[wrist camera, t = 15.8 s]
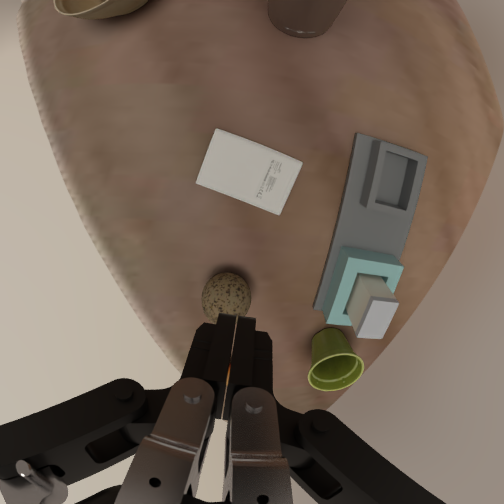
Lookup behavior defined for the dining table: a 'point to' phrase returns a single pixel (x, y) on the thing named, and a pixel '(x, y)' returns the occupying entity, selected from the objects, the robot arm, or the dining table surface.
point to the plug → (370, 306)
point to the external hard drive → (248, 171)
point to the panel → (370, 221)
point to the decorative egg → (225, 296)
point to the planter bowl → (97, 8)
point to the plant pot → (333, 361)
